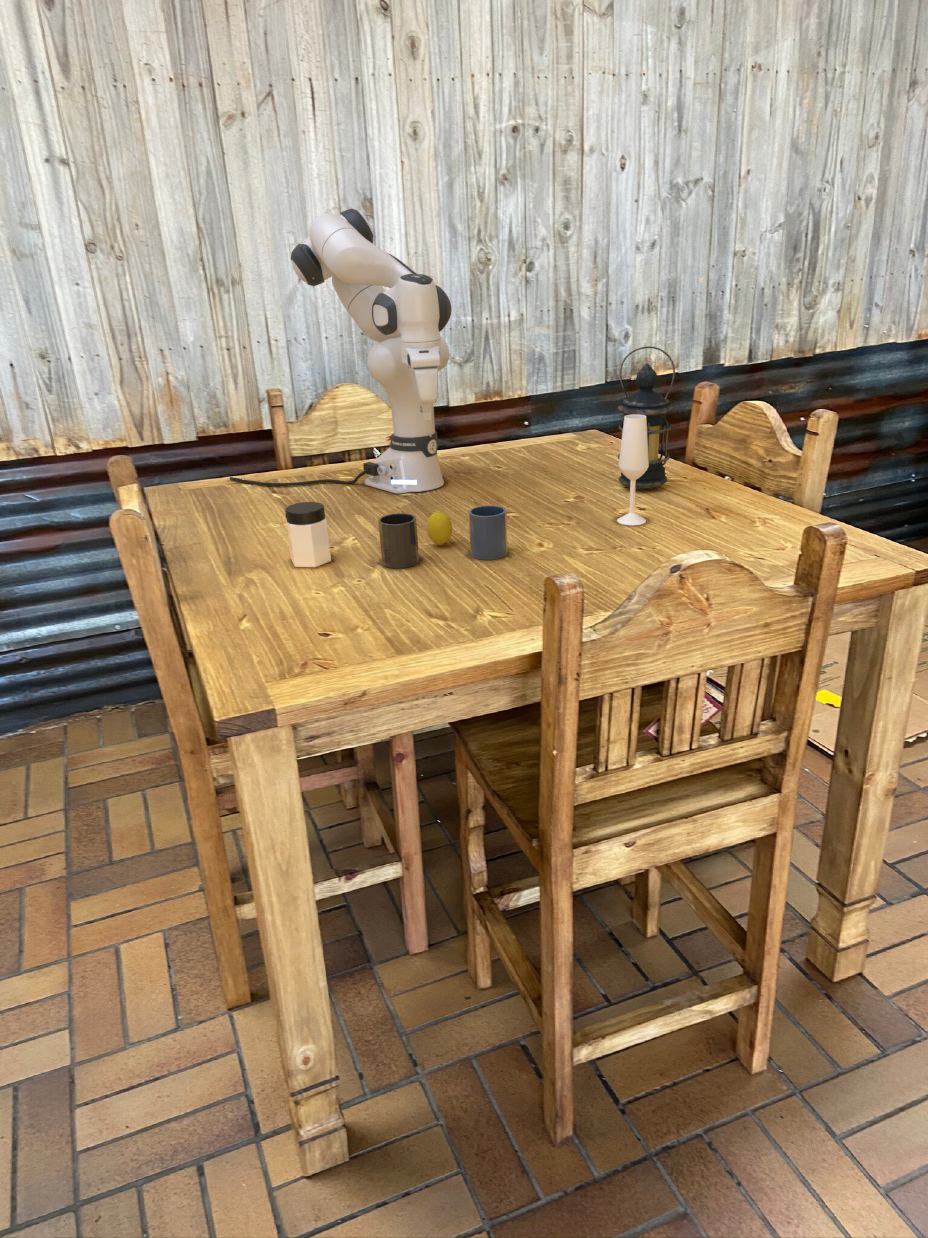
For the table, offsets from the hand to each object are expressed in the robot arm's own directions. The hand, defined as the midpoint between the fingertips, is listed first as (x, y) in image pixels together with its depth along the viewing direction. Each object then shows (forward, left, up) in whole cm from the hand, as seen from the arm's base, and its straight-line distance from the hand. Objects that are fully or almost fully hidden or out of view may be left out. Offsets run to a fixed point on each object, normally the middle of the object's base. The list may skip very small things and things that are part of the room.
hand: (425, 416), depth 200 cm
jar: (-7, -33, -25) cm, 42 cm away
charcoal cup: (+10, -24, -25) cm, 36 cm away
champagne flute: (+40, +24, -25) cm, 53 cm away
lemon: (+11, -11, -25) cm, 30 cm away
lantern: (+30, +50, -25) cm, 64 cm away
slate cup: (+24, -10, -25) cm, 36 cm away
